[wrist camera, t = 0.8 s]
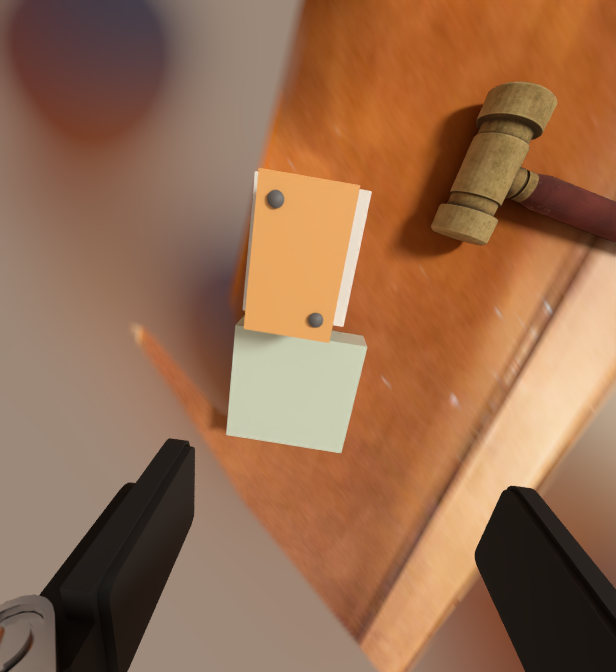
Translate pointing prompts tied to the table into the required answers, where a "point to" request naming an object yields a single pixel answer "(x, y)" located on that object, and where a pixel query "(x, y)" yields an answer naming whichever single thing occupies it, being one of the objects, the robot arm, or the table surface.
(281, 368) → the stand
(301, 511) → the table surface
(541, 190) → the gavel
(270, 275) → the housing cover
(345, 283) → the stand
